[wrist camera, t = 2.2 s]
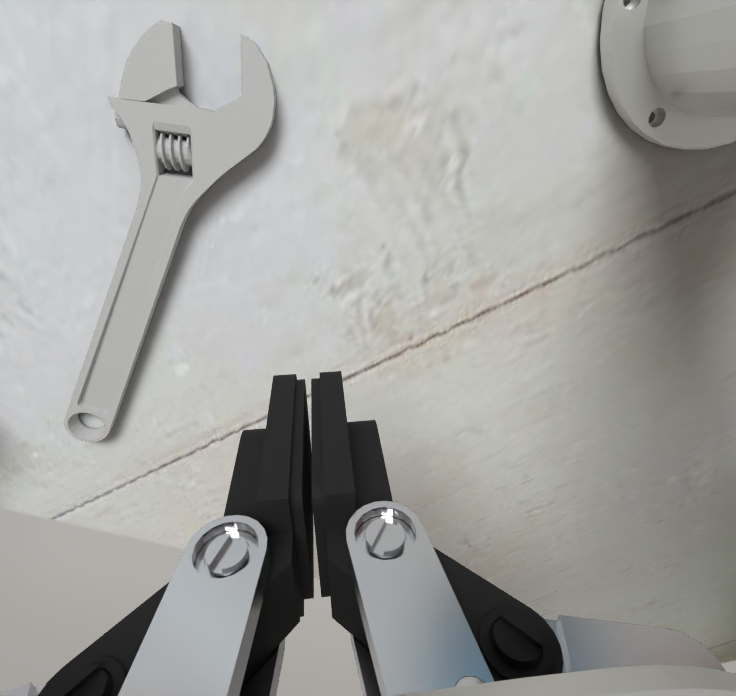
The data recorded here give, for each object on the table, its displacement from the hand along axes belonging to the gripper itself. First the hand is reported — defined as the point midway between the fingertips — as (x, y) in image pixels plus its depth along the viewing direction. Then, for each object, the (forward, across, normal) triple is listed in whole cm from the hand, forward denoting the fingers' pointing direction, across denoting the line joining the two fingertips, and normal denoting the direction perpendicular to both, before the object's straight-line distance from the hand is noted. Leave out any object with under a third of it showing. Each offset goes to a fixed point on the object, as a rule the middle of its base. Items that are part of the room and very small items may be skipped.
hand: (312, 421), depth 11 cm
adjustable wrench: (+16, +10, 0) cm, 19 cm away
